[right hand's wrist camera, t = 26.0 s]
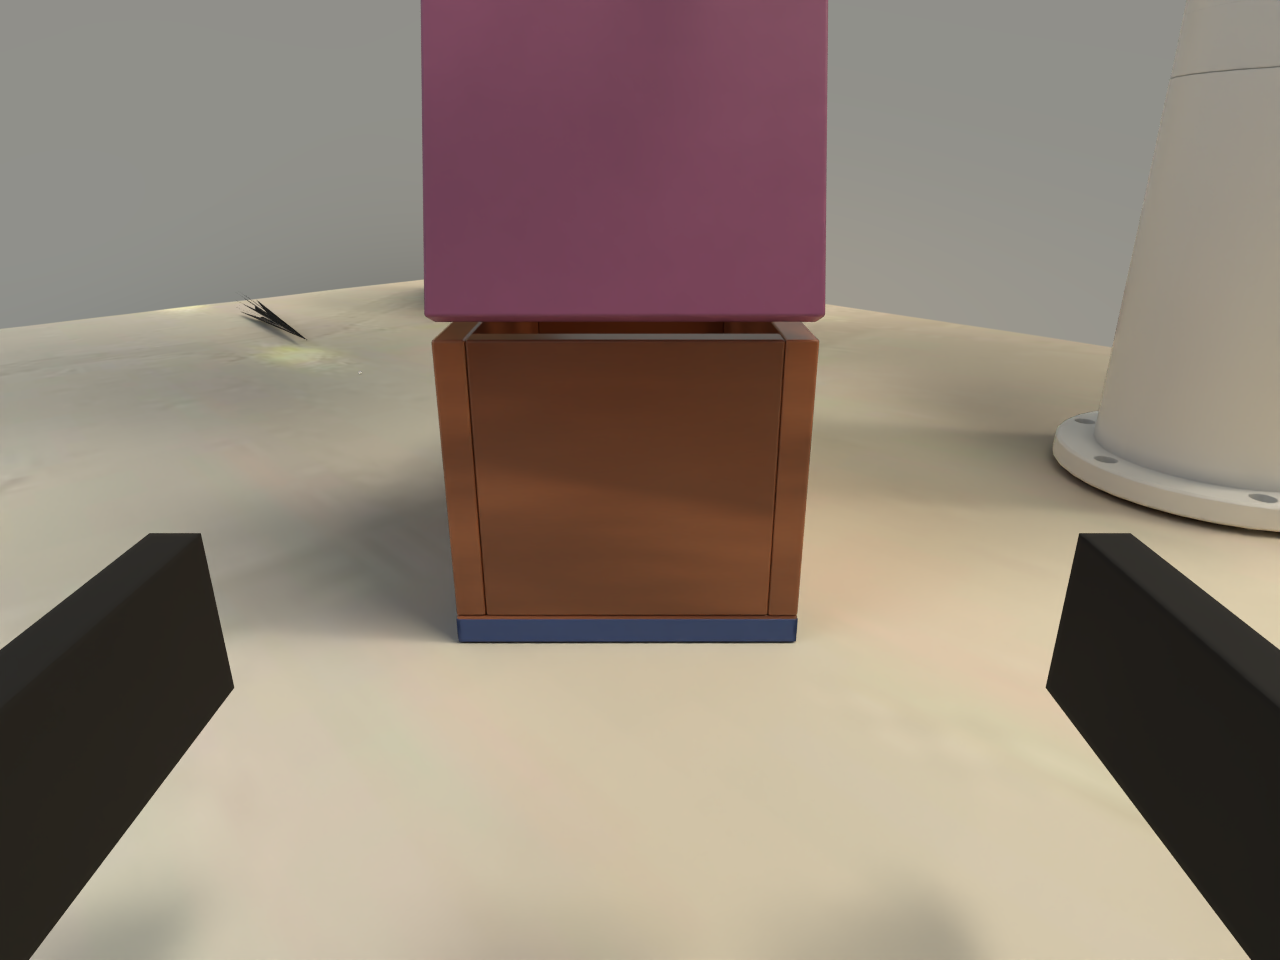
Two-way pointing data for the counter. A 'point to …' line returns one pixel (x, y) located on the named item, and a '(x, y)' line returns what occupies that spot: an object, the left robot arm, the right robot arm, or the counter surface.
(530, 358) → the chest
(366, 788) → the counter surface
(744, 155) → the lid
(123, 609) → the right robot arm
